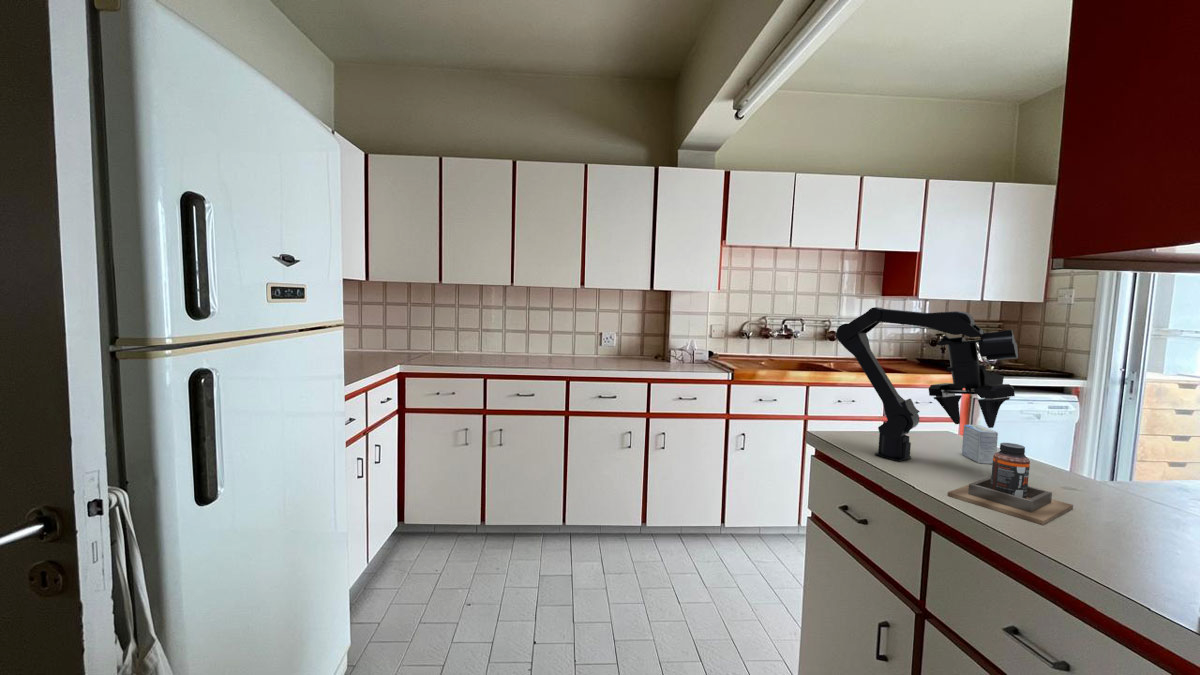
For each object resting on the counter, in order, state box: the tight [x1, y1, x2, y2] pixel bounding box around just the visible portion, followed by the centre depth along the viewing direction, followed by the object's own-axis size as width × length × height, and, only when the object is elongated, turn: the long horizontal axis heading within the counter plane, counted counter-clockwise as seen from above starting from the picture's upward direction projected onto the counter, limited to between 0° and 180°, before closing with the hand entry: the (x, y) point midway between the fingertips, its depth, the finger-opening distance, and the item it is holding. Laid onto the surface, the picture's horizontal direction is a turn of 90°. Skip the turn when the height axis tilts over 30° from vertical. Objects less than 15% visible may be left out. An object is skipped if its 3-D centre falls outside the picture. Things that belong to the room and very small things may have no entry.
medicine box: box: [961, 424, 999, 465], centre depth 134 cm, size 8×4×9 cm, turn 170°
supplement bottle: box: [990, 442, 1031, 499], centre depth 104 cm, size 6×6×11 cm
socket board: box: [947, 475, 1074, 526], centre depth 104 cm, size 16×16×3 cm
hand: (973, 425), depth 122 cm, fingers open, 9 cm apart
